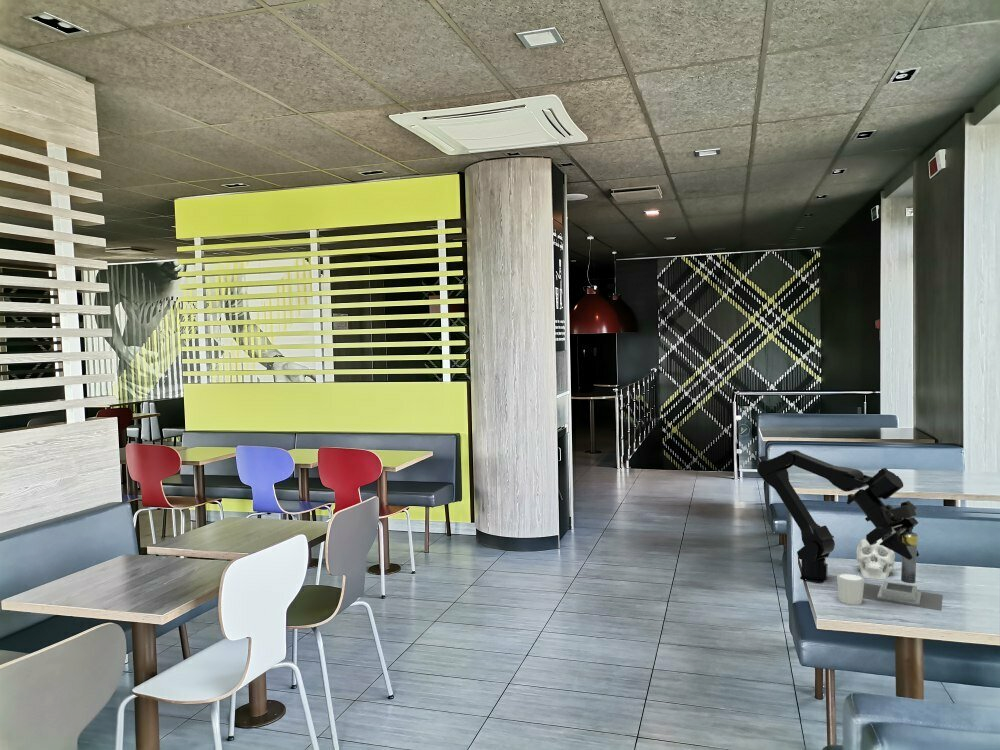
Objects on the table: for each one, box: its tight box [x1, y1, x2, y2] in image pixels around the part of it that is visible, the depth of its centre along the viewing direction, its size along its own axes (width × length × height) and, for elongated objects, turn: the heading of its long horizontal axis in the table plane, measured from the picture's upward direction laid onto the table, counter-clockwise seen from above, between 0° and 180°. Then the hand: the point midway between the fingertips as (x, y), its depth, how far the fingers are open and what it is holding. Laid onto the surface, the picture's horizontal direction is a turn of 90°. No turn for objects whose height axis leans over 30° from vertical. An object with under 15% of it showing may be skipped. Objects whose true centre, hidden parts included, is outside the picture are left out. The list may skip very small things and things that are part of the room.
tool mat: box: [863, 582, 944, 612], centre depth 201 cm, size 22×14×1 cm, turn 57°
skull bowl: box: [856, 538, 896, 580], centre depth 221 cm, size 10×14×12 cm
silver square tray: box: [877, 581, 922, 606], centre depth 200 cm, size 10×10×3 cm
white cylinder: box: [836, 573, 866, 606], centre depth 197 cm, size 7×7×7 cm
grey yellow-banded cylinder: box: [900, 531, 918, 584], centre depth 195 cm, size 4×4×13 cm
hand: (914, 557), depth 194 cm, fingers closed on grey yellow-banded cylinder, 3 cm apart
